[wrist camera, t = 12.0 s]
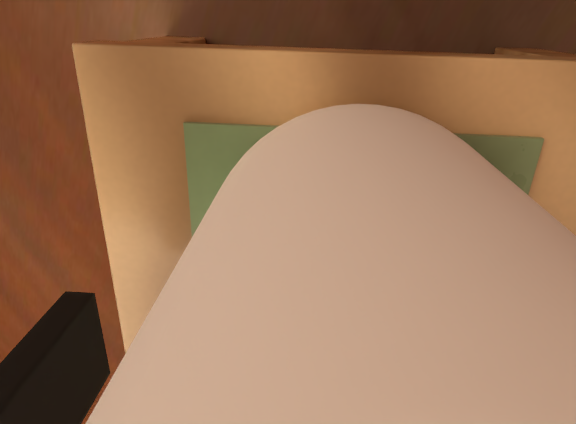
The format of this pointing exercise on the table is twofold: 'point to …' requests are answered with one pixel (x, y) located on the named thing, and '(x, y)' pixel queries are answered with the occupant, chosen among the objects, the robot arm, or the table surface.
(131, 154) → the wooden side table
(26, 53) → the table surface
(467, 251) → the mug
